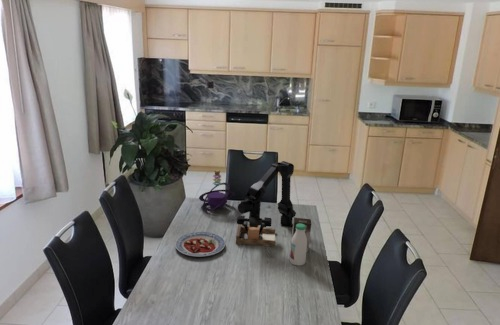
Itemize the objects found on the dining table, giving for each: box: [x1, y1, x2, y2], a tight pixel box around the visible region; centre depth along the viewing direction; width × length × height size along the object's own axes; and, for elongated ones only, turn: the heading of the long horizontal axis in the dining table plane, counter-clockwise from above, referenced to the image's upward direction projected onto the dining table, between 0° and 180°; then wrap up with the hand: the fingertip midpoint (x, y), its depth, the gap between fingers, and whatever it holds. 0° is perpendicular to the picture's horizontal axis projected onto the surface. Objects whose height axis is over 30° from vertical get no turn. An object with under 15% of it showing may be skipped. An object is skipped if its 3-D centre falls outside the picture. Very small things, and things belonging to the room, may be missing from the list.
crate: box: [247, 225, 260, 240], centre depth 210 cm, size 6×8×6 cm
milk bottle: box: [289, 223, 307, 267], centre depth 186 cm, size 8×8×20 cm
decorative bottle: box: [198, 169, 235, 212], centre depth 245 cm, size 22×21×25 cm
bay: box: [235, 224, 276, 247], centre depth 211 cm, size 21×16×4 cm
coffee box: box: [290, 216, 312, 253], centre depth 200 cm, size 9×6×16 cm
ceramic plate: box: [174, 231, 226, 258], centre depth 199 cm, size 26×26×3 cm
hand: (253, 235), depth 211 cm, fingers closed on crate, 6 cm apart
